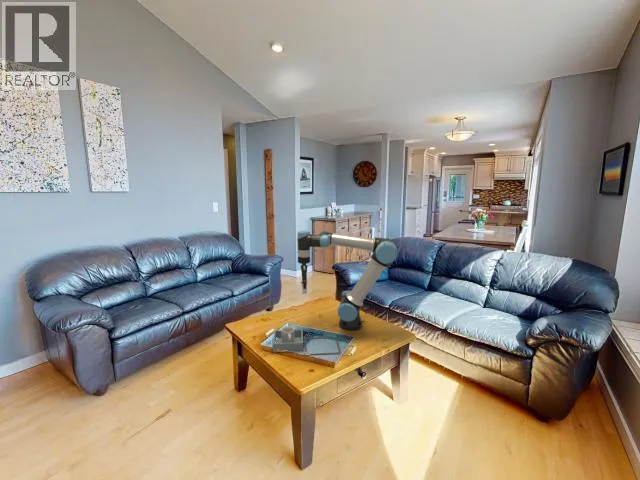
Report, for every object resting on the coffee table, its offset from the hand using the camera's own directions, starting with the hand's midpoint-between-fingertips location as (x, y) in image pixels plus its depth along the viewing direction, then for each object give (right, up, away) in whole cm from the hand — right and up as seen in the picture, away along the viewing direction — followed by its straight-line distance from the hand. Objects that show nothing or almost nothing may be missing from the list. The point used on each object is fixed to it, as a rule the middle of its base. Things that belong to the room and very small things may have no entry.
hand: (304, 290), depth 191 cm
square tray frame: (+11, -29, -15) cm, 35 cm away
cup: (-8, -29, -13) cm, 33 cm away
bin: (-9, -29, -13) cm, 33 cm away
